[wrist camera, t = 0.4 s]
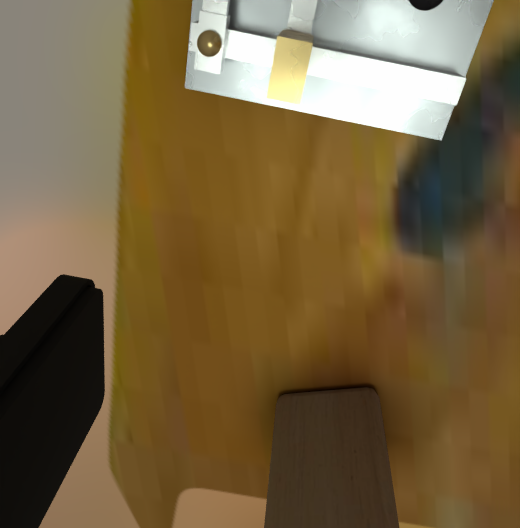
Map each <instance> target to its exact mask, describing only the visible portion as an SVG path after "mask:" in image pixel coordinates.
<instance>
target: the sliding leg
mask: <svg viewBox="0 0 520 528" xmlns="http://www.w3.org/2000/svg"><path fill="white" fill-rule="evenodd" d="M316 5H317V0H292V3H291V9H290V14H289V20H288V25H287V27H285V30H282V31H281V32H280V33H279V35H278V36H277V41H276V47H275V52H274V58H273V64H272V69H271V75H270V81H269V86H268V92H267V98H269V99H274V100H279V101H284V102H289V103H293V104H298V105H300V103H301V98H302V93H303V89H304V84H305V79H306V74H307V70H308V65H309V60H310V56H311V51H312V46H313V38H314V36H312V32H311V29H312V24H313V19H314V15H315V10H316Z"/></svg>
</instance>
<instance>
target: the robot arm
mask: <svg viewBox="0 0 520 528" xmlns="http://www.w3.org/2000/svg"><path fill="white" fill-rule="evenodd" d="M103 318H104V317H103V292H102V290H101V289H97V288H95V284H94V282H93V281H92V280H90V279H85V278H80V277H74V276H69V275H60V276H59V277H57V278H56V279H55V280H54V281H53V283H52V284H51V285H50V286H49V287H48V288H47V289H46V290H45V291H44V292H43V293H42V295H40V297H39V298H38V299H37V300H36V301H35V302H34V303H33V304H32V305H31V306H30V307H29V309H28V310H27V311H26V312H25V313H24V314H23V315H22V316H21V317H20V318H19V319H18V320H17V321H16V323H15V324H14V325H13V326H12V327H11V328H10V329H9V330H8V331H7V332H6V333H5V334H4V335H0V528H38V527H39V526H40V524H41V522H42V520H43V518H44V516H45V514H46V512H47V510H48V508H49V507H50V505H51V503H52V501H53V499H54V497H55V495H56V493H57V491H58V489H59V487H60V485H61V484H62V482H63V480H64V478H65V476H66V474H67V472H68V470H69V468H70V466H71V464H72V462H73V460H74V458H75V457H76V455H77V453H78V451H79V449H80V447H81V445H82V443H83V441H84V440H85V438H86V435H87V434H88V432H89V430H90V428H91V426H92V424H93V422H94V420H95V419H96V417H97V415H98V413H99V411H100V409H101V406H102V403H103V399H104V391H105V389H104V388H105V384H104V325H103V324H104V321H103V320H104V319H103Z"/></svg>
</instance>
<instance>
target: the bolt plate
mask: <svg viewBox="0 0 520 528" xmlns="http://www.w3.org/2000/svg"><path fill="white" fill-rule="evenodd" d="M493 1H494V0H317V5H316V10H315V15H314V19H313V24H312V29H311V32H312V36H314V38H313V46H312V51H311V56H310V60H309V65H308V70H307V74H306V79H305V84H304V89H303V93H302V98H301V103H300V105H298V104H293V103H289V102H284V101H279V100H274V99H269V98H267V92H268V86H269V81H270V75H271V69H272V64H273V58H274V52H275V47H276V41H277V36H278V35H279V33H280V32H281V31H282V30H285V27H287V25H288V20H289V14H290V9H291V3H292V0H193V2H192V13H191V24H190V35H189V47H188V58H187V69H186V80H185V88H188V89H193V90H198V91H202V92H207V93H212V94H217V95H222V96H227V97H232V98H237V99H242V100H246V101H251V102H256V103H261V104H266V105H271V106H276V107H281V108H285V109H290V110H295V111H300V112H305V113H310V114H315V115H320V116H325V117H329V118H334V119H339V120H344V121H349V122H354V123H359V124H364V125H369V126H373V127H378V128H383V129H388V130H393V131H398V132H403V133H408V134H413V135H417V136H422V137H427V138H432V139H437V140H442V137H443V135H444V132H445V129H446V127H447V124H448V121H449V118H450V116H451V113H452V110H453V108H454V105H457V102H458V100H459V97H460V94H461V92H462V89H463V86H464V84H465V81H466V78H465V76H466V73H467V70H468V68H469V65H470V62H471V60H472V57H473V54H474V52H475V49H476V46H477V44H478V41H479V38H480V35H481V33H482V30H483V27H484V25H485V22H486V19H487V17H488V14H489V11H490V9H491V6H492V3H493Z"/></svg>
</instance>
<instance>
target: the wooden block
mask: <svg viewBox="0 0 520 528" xmlns="http://www.w3.org/2000/svg"><path fill="white" fill-rule="evenodd" d="M264 528H399V523H398V516H397V510H396V503H395V497H394V490H393V484H392V477H391V471H390V464H389V458H388V451H387V445H386V438H385V432H384V425H383V419H382V412H381V406H380V399H379V396H378V395H377V394H376V392H375V391H374V389H373V388H368V387H364V388H352V389H340V390H328V391H316V392H304V393H292V394H284V395H282V396H280V397H279V398H278V401H277V404H276V412H275V422H274V433H273V443H272V453H271V463H270V474H269V484H268V494H267V504H266V515H265V525H264Z"/></svg>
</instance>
